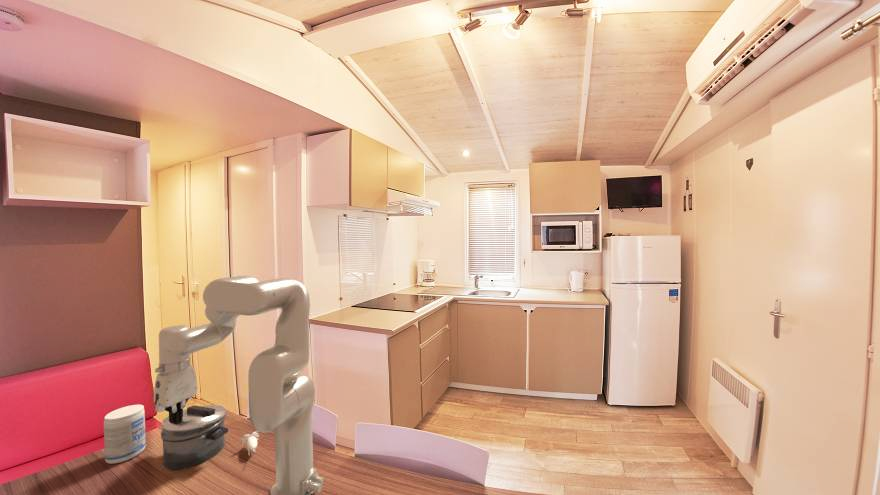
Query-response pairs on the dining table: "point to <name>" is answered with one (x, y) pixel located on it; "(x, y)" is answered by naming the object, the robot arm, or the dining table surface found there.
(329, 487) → the dining table surface
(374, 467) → the dining table surface
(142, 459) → the dining table surface
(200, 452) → the pot
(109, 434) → the supplement tub
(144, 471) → the dining table surface
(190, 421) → the pot lid
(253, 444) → the white toy bomb
